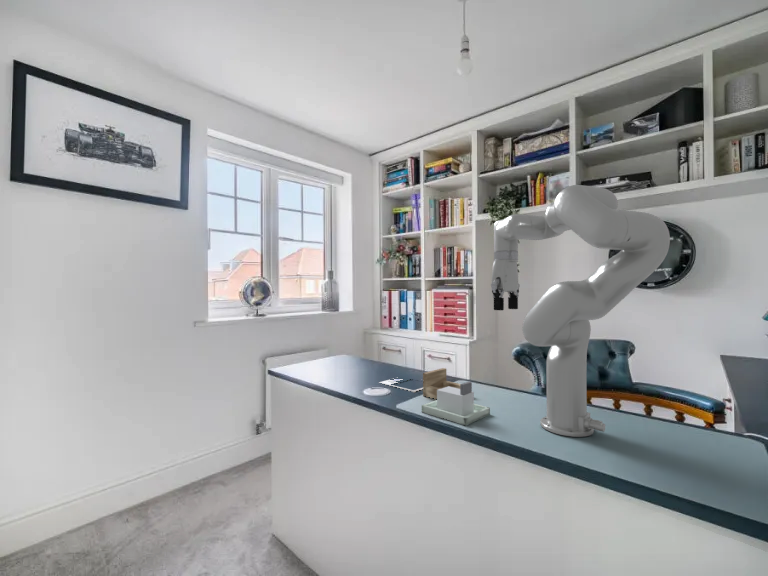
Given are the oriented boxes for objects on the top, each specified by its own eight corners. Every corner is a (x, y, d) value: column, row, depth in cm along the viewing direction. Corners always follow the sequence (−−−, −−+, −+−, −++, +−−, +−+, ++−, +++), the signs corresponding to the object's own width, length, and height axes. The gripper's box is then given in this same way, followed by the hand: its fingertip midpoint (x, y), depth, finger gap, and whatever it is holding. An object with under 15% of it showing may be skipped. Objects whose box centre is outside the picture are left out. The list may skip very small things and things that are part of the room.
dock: (470, 396, 126) (470, 373, 126) (450, 403, 118) (450, 378, 118) (443, 389, 134) (443, 368, 134) (423, 396, 126) (423, 373, 126)
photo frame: (403, 375, 154) (438, 383, 141) (403, 378, 154) (438, 386, 141) (378, 381, 143) (414, 390, 131) (378, 384, 143) (414, 393, 131)
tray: (489, 414, 107) (489, 407, 107) (466, 425, 98) (466, 418, 98) (446, 402, 118) (446, 396, 118) (421, 411, 110) (421, 405, 110)
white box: (473, 412, 107) (473, 381, 107) (462, 417, 103) (462, 385, 103) (448, 405, 114) (448, 376, 114) (436, 409, 110) (436, 379, 110)
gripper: (507, 259, 128) (507, 308, 128) (481, 256, 116) (482, 310, 116) (528, 258, 123) (528, 309, 123) (503, 255, 111) (504, 311, 111)
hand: (506, 309), depth 119 cm, fingers open, 9 cm apart
